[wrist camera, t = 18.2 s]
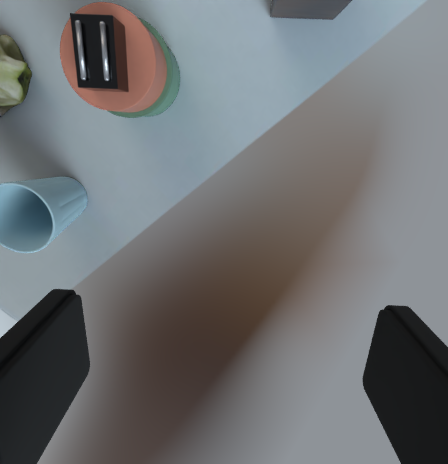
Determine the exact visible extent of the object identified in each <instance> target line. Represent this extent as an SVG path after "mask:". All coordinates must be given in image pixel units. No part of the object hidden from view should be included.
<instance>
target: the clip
mask: <svg viewBox="0 0 448 464" xmlns="http://www.w3.org/2000/svg"><path fill="white" fill-rule="evenodd" d="M70 18H71V28H72V37H73V46H74V55H75V65H76V74H77V83H78V87H79V88H83V89H87V90H92V91H109V92H129V88H128V70H127V53H126V35H125V26H124V25H123V24H122V23H121V22H120V21H119V20H117V19H116V18H115V17H114V16H113V15H100V14H75V13H70Z"/></svg>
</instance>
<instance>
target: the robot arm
mask: <svg viewBox="0 0 448 464" xmlns="http://www.w3.org/2000/svg"><path fill="white" fill-rule="evenodd" d="M89 367H90V361H89V353H88V346H87V337H86V330H85V323H84V315H83V308H82V300H81V297H80V296H79V295H76V293H75V291H74V290H64V289H53V290H52V291H51V292H49V293H48V294H47V295H46V296H45V297H44V298H43V299H42V300H41V301H40V302H39V303H38V304H37V305H35V306H34V307H33V308H32V309H31V310H30V311H29V312H28V313H27V314H26V315H25V316H24V317H23V318H22V319H20V320H19V321H18V322H17V323H16V324H15V325H14V326H13V327H12V328H11V329H10V330H9V331H8V332H7V333H6V334H4V335H3V336H2V337H1V338H0V464H37V462H38V461H39V459H40V457H41V455H42V454H43V452H44V450H45V448H46V447H47V445H48V443H49V441H50V440H51V438H52V436H53V434H54V433H55V431H56V429H57V427H58V426H59V424H60V422H61V420H62V419H63V417H64V415H65V413H66V412H67V410H68V408H69V406H70V405H71V403H72V401H73V399H74V398H75V396H76V394H77V392H78V391H79V389H80V387H81V386H82V383H83V382H84V380H85V378H86V377H87V375H88V372H89ZM363 386H364V389H365V392H366V394H367V396H368V398H369V400H370V402H371V404H372V406H373V408H374V410H375V412H376V414H377V416H378V418H379V420H380V422H381V424H382V426H383V428H384V430H385V432H386V434H387V436H388V438H389V440H390V442H391V444H392V446H393V448H394V450H395V452H396V454H397V456H398V458H399V460H400V462H401V464H448V347H447V346H446V345H445V344H444V343H443V342H442V341H441V340H440V339H439V338H438V337H437V336H436V335H435V334H434V333H433V332H432V331H431V329H430V328H429V327H428V326H427V325H426V324H425V323H424V322H423V321H422V320H421V319H420V318H419V317H418V316H417V315H416V314H415V313H414V312H413V311H412V309H410V308H409V307H407V306H392V305H388V306H386V307H385V309H384V310H380V312H379V314H378V318H377V322H376V326H375V330H374V334H373V338H372V343H371V346H370V350H369V355H368V358H367V362H366V367H365V370H364V375H363Z"/></svg>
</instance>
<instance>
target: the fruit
mask: <svg viewBox="0 0 448 464" xmlns="http://www.w3.org/2000/svg"><path fill="white" fill-rule="evenodd" d="M31 77H32V72H31V70H30V69H29V67H28V65H27V63H26V62H25V60H24V58H23V56H22V54H21V52H20V49H19V47H18V46H17V44H16V43H15V42H14V40H13V39H12V38H11V37H9V36H8V35H5V34H4V35H0V117H1V116H2V115H4V114H5V113H6V112H7V111H8V110H9V109H10V108H12V107H14V106H16V105H18V104H20V103H22V102H23V100H24V99H25V97H26V95H27V91H28V87H29V83H30V79H31Z"/></svg>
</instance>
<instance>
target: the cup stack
mask: <svg viewBox="0 0 448 464" xmlns="http://www.w3.org/2000/svg"><path fill="white" fill-rule="evenodd" d="M75 14H100V15H113V16H114V17H115V18H116V19H117V20H119V21H120V22H121V23H122V24H123V25H124V26H125V35H126V53H127V70H128V88H129V92H109V91H92V90H87V89H83V88H79V87H78V83H77V74H76V65H75V55H74V46H73V37H72V28H71V18H70V19H69V20H68V22H67V24H66V26H65V28H64V30H63V33H62V36H61V42H60V58H61V63H62V67H63V71H64V73H65V76H66V78H67V80H68V82H69V83H70V85H71V86H72V88H73V89H74V91H75V92H76V93H77V94H78V95H79V96H80V97H81V98H82V99H83V100H85V101H86V102H88V103H89V104H91V105H93V106H94V107H97V108H99V109H103V110H107V111H109V112H111V113H112V114H115V115H117V116H121V117H128V118H136V117H142V116H143V117H148V116H154V115H158V114H160V113H162V112H163V111H165V110H166V109H167V108H168V107H170V105H171V104H172V103H173V101H174V100H175V98H176V96H177V93H178V90H179V85H180V72H179V67H178V64H177V61H176V59H175V57H174V55H173V53H172V52H171V51H170V49H169V48H168V47H167V45H166V43H165V42H164V40H163V38H162V37H161V36H160V34H159V33H158V32H157V31H156V30H155V29H154V28H153V27H152V26H151V25H150V24H148V23H147V22H146V21H144V20H142V19H140V18H138V17H136V16H135V15H134V14H132V13H131V12H130V11H128V10H127V9H125V8H123V7H121V6H119V5H116V4H113V3H107V2H97V3H92V4H89V5H86V6H84V7H82V8H81V9H79V10H78V11H77V12H75Z"/></svg>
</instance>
